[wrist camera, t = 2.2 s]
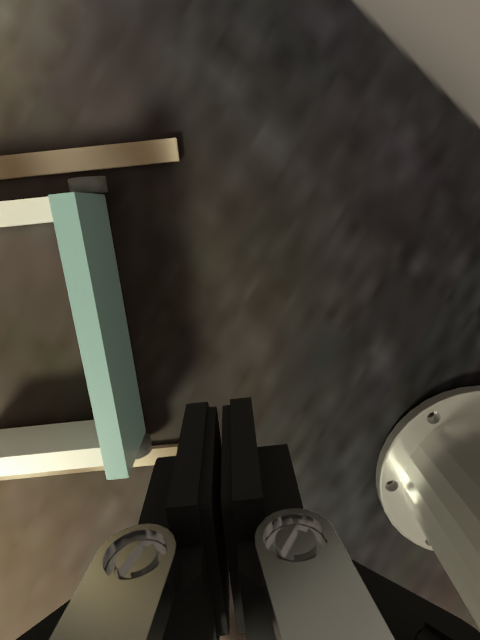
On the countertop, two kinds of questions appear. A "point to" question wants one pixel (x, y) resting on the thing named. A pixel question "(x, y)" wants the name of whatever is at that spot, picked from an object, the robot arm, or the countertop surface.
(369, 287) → the countertop surface
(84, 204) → the green frame
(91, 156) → the track
